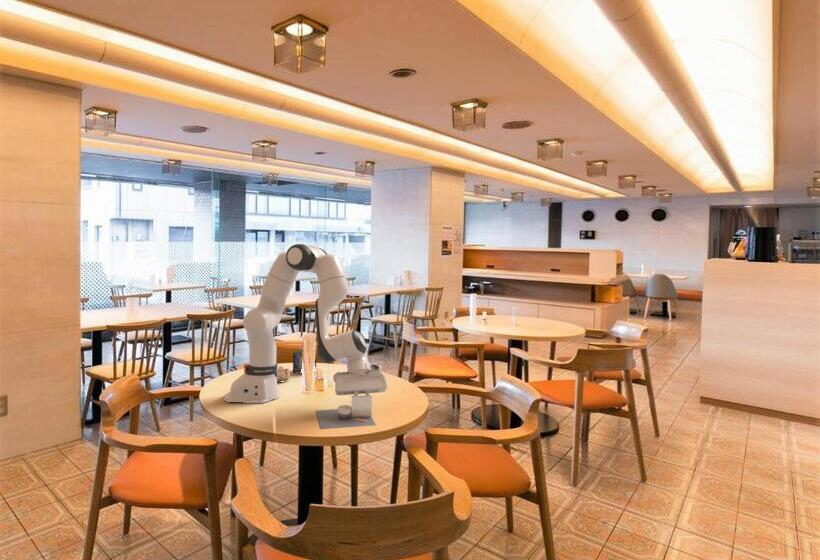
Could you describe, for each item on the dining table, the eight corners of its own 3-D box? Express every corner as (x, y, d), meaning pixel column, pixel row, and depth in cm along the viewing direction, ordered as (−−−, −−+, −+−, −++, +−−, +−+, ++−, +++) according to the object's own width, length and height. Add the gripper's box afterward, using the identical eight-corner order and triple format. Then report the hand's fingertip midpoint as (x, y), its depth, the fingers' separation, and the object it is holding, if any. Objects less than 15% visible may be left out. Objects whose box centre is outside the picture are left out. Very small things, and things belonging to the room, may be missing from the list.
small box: (291, 372, 255) (292, 352, 255) (299, 369, 262) (299, 349, 261) (310, 375, 252) (310, 354, 251) (316, 372, 258) (317, 351, 257)
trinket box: (292, 382, 238) (292, 366, 238) (260, 386, 230) (261, 369, 230) (283, 375, 250) (283, 360, 249) (253, 379, 242) (253, 363, 241)
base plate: (320, 431, 177) (320, 428, 177) (315, 413, 196) (315, 409, 196) (376, 427, 182) (376, 424, 182) (365, 409, 202) (365, 406, 202)
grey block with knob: (338, 419, 186) (338, 398, 186) (337, 414, 191) (338, 394, 191) (371, 418, 188) (372, 398, 188) (370, 413, 193) (371, 394, 193)
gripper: (333, 368, 195) (337, 401, 186) (384, 365, 200) (390, 397, 192) (331, 376, 199) (335, 408, 191) (382, 373, 205) (387, 404, 197)
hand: (363, 403), depth 191 cm, fingers closed
